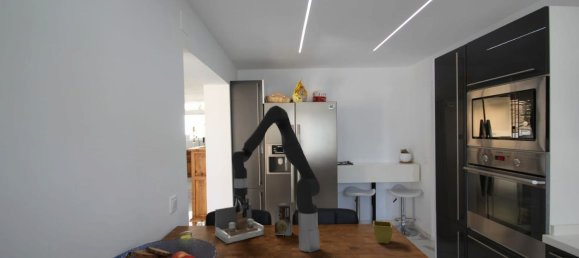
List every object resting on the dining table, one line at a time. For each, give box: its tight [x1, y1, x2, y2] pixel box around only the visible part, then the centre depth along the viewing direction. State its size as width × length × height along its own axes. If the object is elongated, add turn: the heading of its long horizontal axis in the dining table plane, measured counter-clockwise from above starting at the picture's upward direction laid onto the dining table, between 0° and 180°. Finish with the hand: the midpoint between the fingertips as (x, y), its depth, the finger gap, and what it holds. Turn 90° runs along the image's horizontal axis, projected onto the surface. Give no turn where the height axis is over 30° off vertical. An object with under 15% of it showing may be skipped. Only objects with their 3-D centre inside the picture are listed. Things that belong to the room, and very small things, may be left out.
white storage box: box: [214, 203, 265, 244], centre depth 144 cm, size 16×22×14 cm
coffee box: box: [273, 203, 293, 237], centre depth 144 cm, size 9×6×16 cm
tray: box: [225, 211, 258, 236], centre depth 142 cm, size 8×16×10 cm, turn 126°
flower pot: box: [373, 220, 393, 244], centre depth 130 cm, size 9×9×9 cm
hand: (241, 216), depth 142 cm, fingers open, 8 cm apart
